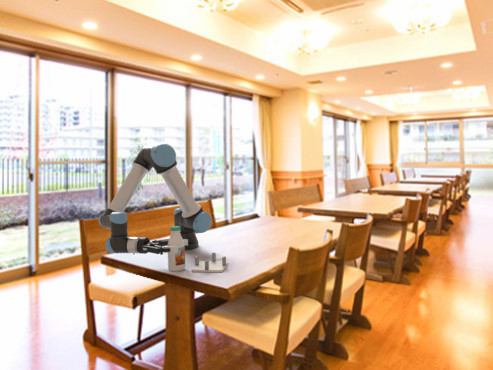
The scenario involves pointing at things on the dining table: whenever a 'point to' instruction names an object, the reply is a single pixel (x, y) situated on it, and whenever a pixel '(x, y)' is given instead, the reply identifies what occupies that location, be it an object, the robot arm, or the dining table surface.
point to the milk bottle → (178, 259)
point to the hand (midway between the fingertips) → (182, 245)
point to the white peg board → (210, 264)
